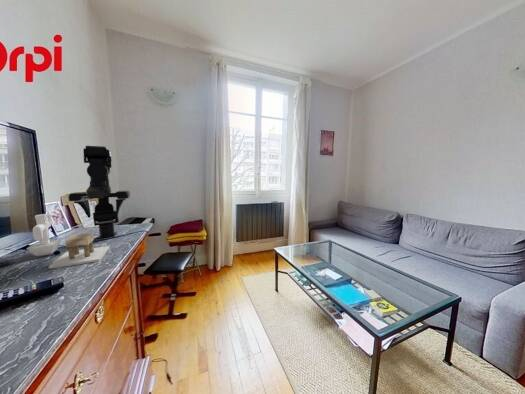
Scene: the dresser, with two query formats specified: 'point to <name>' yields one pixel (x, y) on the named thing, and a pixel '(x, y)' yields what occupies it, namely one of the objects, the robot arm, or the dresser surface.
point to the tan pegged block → (80, 244)
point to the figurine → (43, 237)
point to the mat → (79, 258)
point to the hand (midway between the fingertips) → (103, 216)
